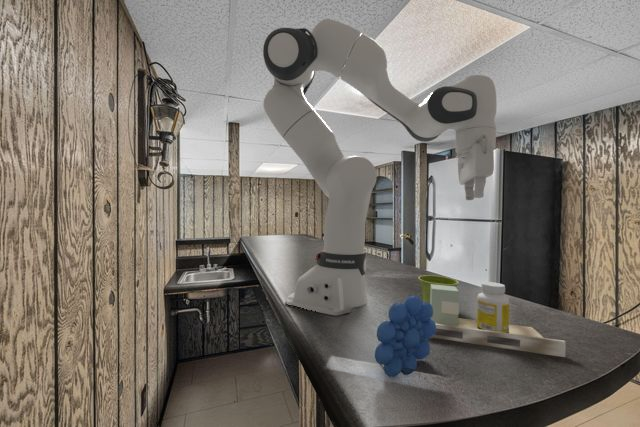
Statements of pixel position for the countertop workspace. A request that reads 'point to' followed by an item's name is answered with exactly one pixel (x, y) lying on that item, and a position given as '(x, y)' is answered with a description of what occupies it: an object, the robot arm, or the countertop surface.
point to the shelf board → (501, 338)
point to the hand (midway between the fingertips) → (473, 199)
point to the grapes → (405, 336)
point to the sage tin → (444, 304)
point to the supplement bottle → (493, 308)
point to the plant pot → (436, 280)
